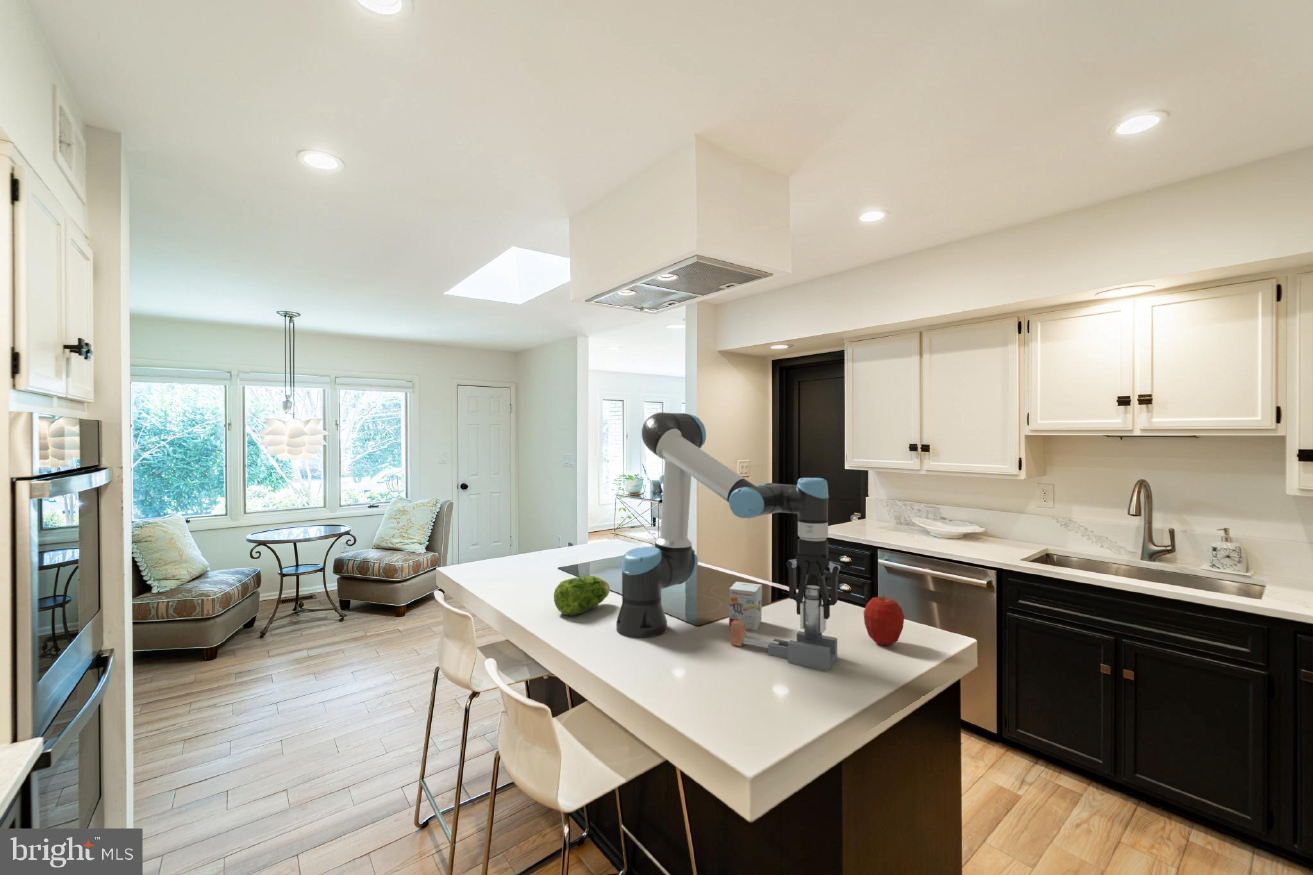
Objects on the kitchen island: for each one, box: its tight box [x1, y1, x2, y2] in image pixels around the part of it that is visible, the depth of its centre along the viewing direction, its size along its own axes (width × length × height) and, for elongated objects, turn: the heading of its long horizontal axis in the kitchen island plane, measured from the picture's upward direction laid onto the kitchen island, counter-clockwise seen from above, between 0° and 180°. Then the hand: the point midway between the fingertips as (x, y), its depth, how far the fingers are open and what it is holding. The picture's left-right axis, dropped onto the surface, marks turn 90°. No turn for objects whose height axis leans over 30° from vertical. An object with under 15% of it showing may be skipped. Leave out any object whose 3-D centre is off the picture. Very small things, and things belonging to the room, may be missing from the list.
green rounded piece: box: [553, 575, 611, 616], centre depth 184 cm, size 12×21×11 cm, turn 141°
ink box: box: [728, 581, 763, 631], centre depth 170 cm, size 9×9×12 cm
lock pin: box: [730, 620, 780, 649], centre depth 150 cm, size 13×3×6 cm, turn 59°
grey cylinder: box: [803, 584, 823, 641], centre depth 143 cm, size 4×4×13 cm
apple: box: [862, 593, 905, 647], centre depth 154 cm, size 10×10×14 cm
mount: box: [767, 630, 838, 672], centre depth 144 cm, size 16×10×5 cm, turn 59°
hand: (813, 628), depth 143 cm, fingers closed on grey cylinder, 4 cm apart
